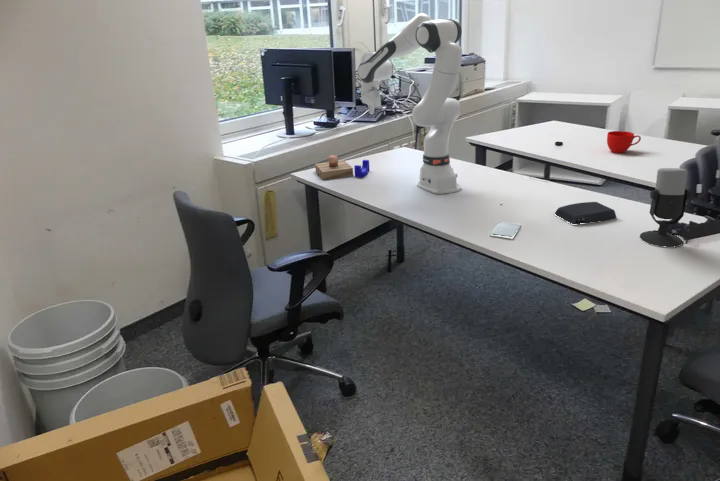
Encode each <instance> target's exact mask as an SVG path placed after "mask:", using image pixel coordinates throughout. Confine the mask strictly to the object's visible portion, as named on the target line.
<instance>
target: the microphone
mask: <svg viewBox="0 0 720 481" xmlns="http://www.w3.org/2000/svg"><path fill="white" fill-rule="evenodd" d="M687 176H688V170H687V169H686V168H675V167H664V168H663V167H662V168H659V169H657V173H656V183H655V189H653V190H650V193H649V197H650V199H651V204H650V207H649V214H650V216H651V218H652V220H653V221H654V222H655V223H656V224H657V225H659V226H658V230H657V231H658V232H654V231H655V230H649V231H643V232H641V233H640V234H639V239H640V238H641V239H642V240H643V241H645V242H647V243H649V244H648V245H650V244H653V245H658V246H666V247H674V246H679V245H681V244H682V243H683V244H684V241H682V240H683V239H682V238H681V237H680V236H678V235H676V234H674V235H672V234H673V233H671V234H669V233H670V232H668V231H669V230H668V229H669V227H670V226H675V225H677V224H678V223H679V221H680V220H681V219H682V218H684V214H685V210H686V206H687V202H688V200H691V199H692V197H693V194H692V191H691V190H688V189H686V185H687V179H688V177H687ZM655 217H656V218H658V219H659V220H657V219H656V218H655ZM660 219H662V220H660ZM675 235H676V236H675ZM677 236H678V237H677ZM679 237H680V238H681V239H682V240H681V239H680V238H679ZM641 239H640V240H641ZM642 240H641V241H642ZM643 241H642V242H643ZM645 242H644V243H645ZM647 243H646V244H647ZM683 244H682V245H683ZM653 245H652V246H653ZM682 245H681V246H682ZM679 247H680V246H679Z"/></svg>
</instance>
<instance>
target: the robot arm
mask: <svg viewBox="0 0 720 481" xmlns="http://www.w3.org/2000/svg"><path fill="white" fill-rule="evenodd" d="M462 32H463V31H462V26H461V24H460V23H459V22H458V21H457V20H455V19H450V18H447V19H441V18H438V19H432V18H431V16H429V15H428V14H427V13H422V12H421V13H418V14H416V15H415V16H414V17H412V18H411V19H409V21H407V22H406V24H405V25H403V27H402V28H401V29H400V30H399V31H398V32H397V33H396V34H394V36H393V37H392V38H390V39H389V40H388V41H387V42H385V44H383V45H382V46H381V47H380V48H378V49H377V51H367V52H363V53H362V54H361V57H360V63H359V65H358V67H357V76H358V78H359V79H360V80H361V82H360V83H359V89H360V99H361V102H362V104H366V105H367V108H368V114H370V115H375V109H376V108H380V107H381V106H382V101H381V92H380V91H379V90H380V81H384V80H388V79H390V78H391V77H392V76H393V74H394V65H393V63H392V62H391V60H392V59H393V58H398V57H402V56H407V55H410V54H412V53H414V52H416V51H417V50H418V49H419V48H420V47H421V48H423V49H425V50H426V51H427V52H428V53H435V61H434V63H433V64H434V66H433V70H432V74H431V78H430V82H429V84H428V86H427V89H426V91H425V93H424V95H423V96H422V98H421V100H420V101H419V102H418V103H417V104H416V105H414V106H413V108H412V112H411V119H412V120H413V123H414V124H415V125H416V126H418V127H424V128H425V127H426V128H429V127H430V129H429V131H428V132H427V133H426V135H425V136H424V138H423V139H424V140H423V155H422V163H423V164H422V166H421V167H420V170H419V182H417V183H416V187H418V188H420V189H423V190H426V191H428V192H429V193H431V194H434V195H442V194H444V195H446V194H451V193H457V192H459V191H462V186H461V185H460V184H459V183H458V182H457V178H458V172H455V171H454V168H453V167H452V166H451V161H450V153H449V143H450V142H449V140H450V134H451V133H452V132H451V131H452V128H453V126H454V124H455V122H456V120H457V119H459V117H460V115H461V112H462V109H461V108H462V106H461V103H460V101H459V100H457V99H456V98H453V97H450V96H451V94H453V93H454V91H455V89H456V87H457V83H458V78H459V75H460V71H461V66H462V61H463V60H462V57H463V49H462V47H461V46H460V44H458V42H459V41H460V39H461V37H462Z"/></svg>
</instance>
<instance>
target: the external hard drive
mask: <svg viewBox="0 0 720 481" xmlns="http://www.w3.org/2000/svg"><path fill="white" fill-rule="evenodd" d="M554 214H556V215H557V216H559V217H561V218H563V219H564V220H566V221H568V222H570V223H572V224H580V223H590V222H596V223H599V222H598V221H602V222H606V220H607V221H610V220H611V219H612V220H615V218H616V219H617V215H616V210H614V209H613V208H610V207H608V206H607V205H604V204H602V203H600V202H598V201H585V202H576V203H571V204H567V205H566V204H565V205H562V206H559V207H558V208H557V209H556V210H555V212H554ZM557 216H556V217H557ZM564 220H563V221H564ZM566 221H565V222H566ZM590 224H591V223H590Z"/></svg>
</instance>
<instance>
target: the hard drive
mask: <svg viewBox="0 0 720 481" xmlns="http://www.w3.org/2000/svg"><path fill="white" fill-rule="evenodd" d="M520 226H521V227H522V224H517V223H511V222H504V221H499V222H498V224H497V225H496V226H495V227H494V228H493V230H492V231H491V232H490V234H493V235H501V236H509V237H512V236H513V235H514V234H515V233H516V231H517V230H518V229H519V228H520ZM520 229H521V228H520Z"/></svg>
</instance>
